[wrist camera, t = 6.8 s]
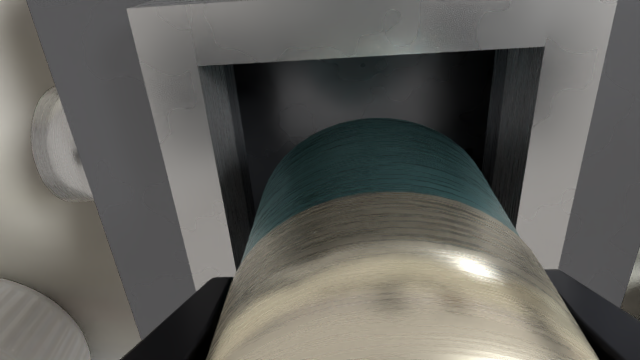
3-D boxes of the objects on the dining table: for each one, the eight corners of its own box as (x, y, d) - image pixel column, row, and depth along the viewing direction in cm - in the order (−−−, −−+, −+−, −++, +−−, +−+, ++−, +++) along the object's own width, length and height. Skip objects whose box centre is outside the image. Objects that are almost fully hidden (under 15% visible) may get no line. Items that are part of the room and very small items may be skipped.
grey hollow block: (620, -132, 14) (880, -201, 7) (544, 249, 20) (643, 398, 14) (45, -86, 15) (-190, -108, 8) (148, 260, 21) (62, 402, 15)
